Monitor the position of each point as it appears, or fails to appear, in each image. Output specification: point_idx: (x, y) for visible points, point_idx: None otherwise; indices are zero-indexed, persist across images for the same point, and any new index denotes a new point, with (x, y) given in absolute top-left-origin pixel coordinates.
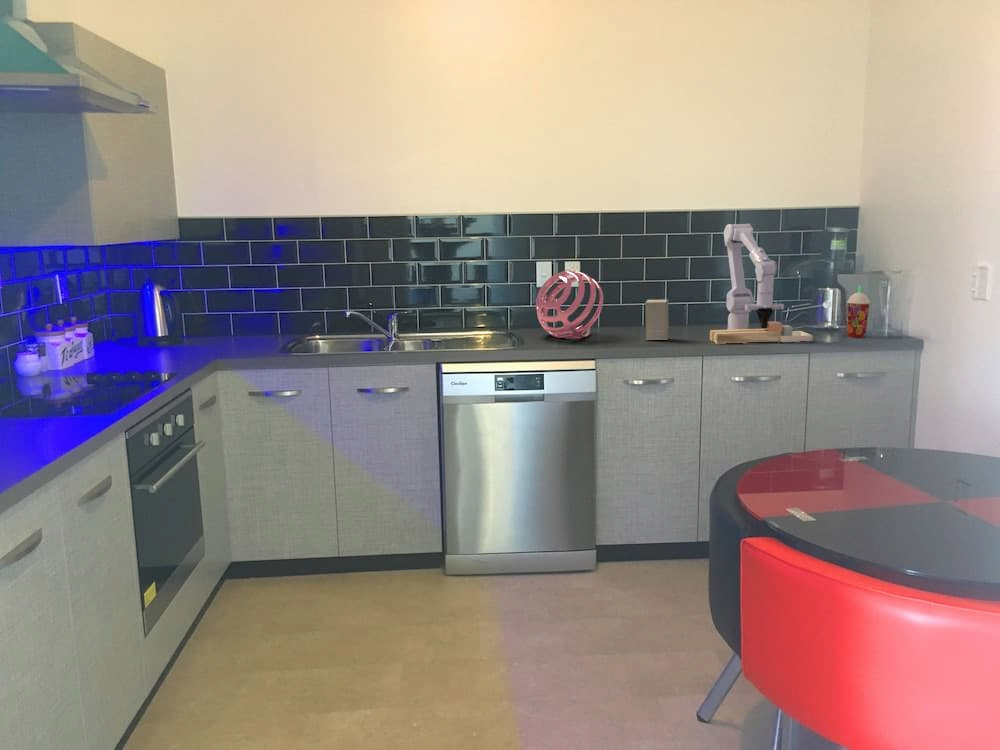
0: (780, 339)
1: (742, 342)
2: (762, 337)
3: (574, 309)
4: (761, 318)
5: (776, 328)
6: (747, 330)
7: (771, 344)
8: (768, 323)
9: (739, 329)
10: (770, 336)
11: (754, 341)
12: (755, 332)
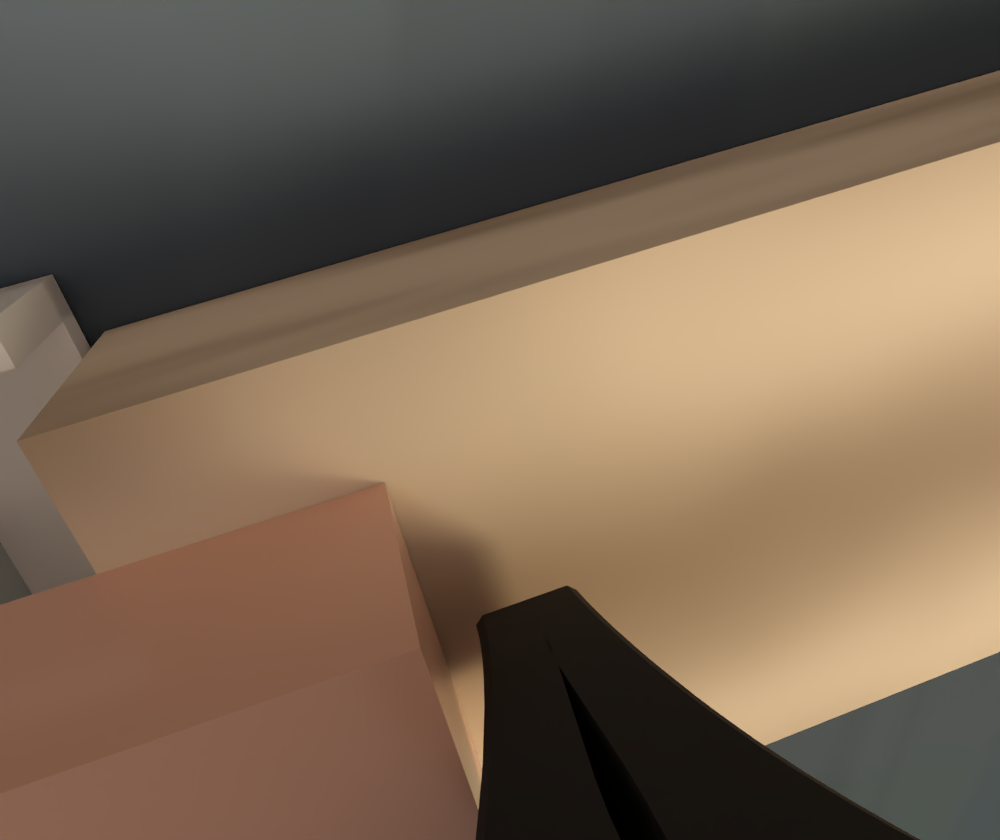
0: (41, 327)
1: (939, 91)
2: (545, 237)
3: None
4: (852, 814)
5: (122, 618)
6: (888, 549)
7: (296, 7)
8: (444, 713)
9: (995, 638)
10: (328, 308)
11: (697, 165)
12: (796, 258)
